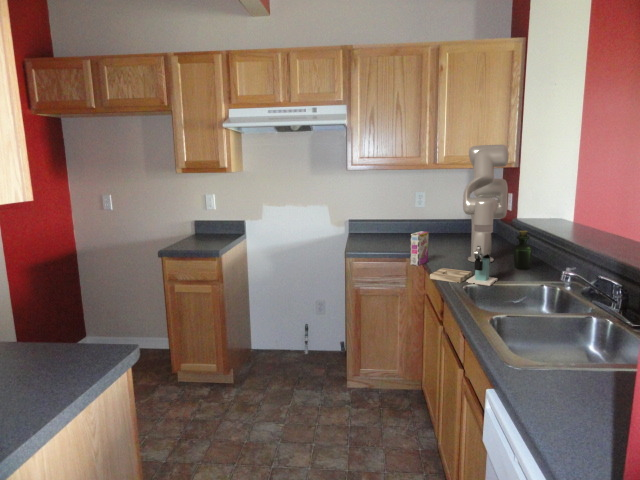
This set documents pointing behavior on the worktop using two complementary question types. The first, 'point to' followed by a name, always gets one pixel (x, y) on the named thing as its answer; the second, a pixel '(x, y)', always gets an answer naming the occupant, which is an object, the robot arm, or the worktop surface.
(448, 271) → the pocket base
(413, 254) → the candy bar box
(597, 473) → the worktop surface
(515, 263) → the potion bottle
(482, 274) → the teal block
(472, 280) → the tile
